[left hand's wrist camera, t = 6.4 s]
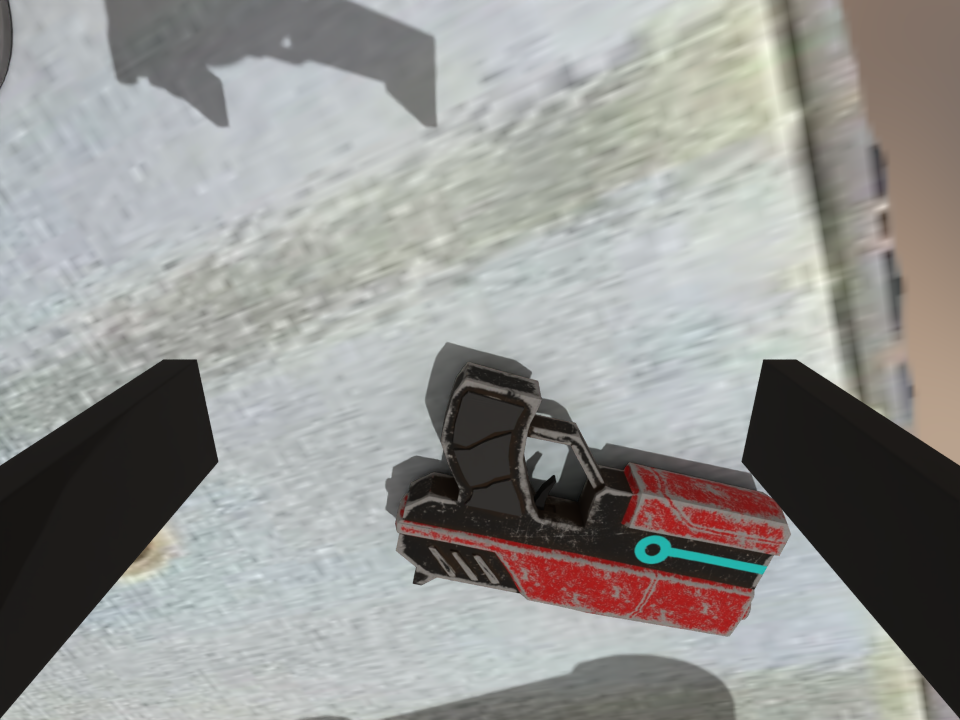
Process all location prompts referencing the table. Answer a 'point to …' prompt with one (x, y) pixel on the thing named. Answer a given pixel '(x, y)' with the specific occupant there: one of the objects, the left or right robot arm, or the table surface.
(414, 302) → the table surface
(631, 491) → the gun
